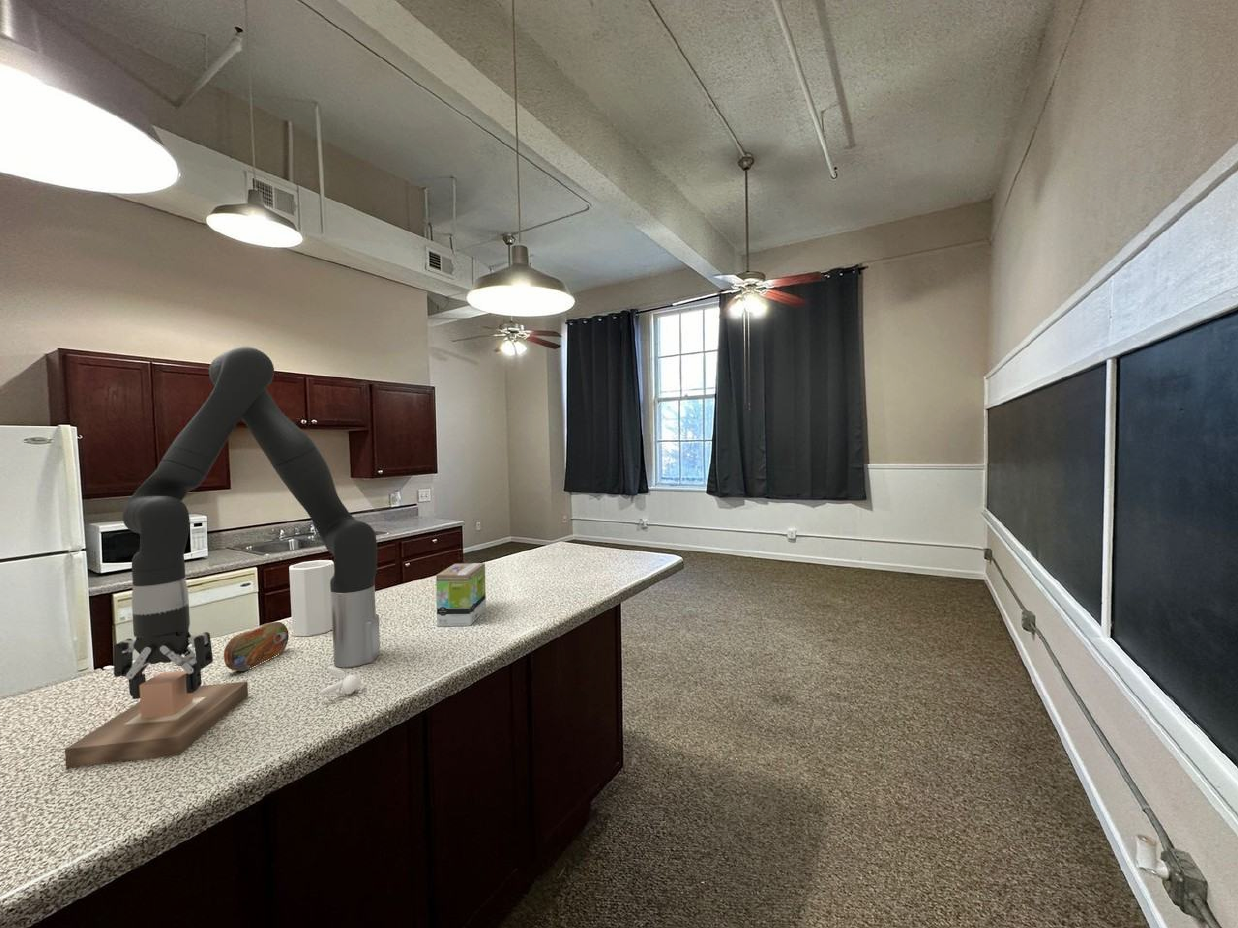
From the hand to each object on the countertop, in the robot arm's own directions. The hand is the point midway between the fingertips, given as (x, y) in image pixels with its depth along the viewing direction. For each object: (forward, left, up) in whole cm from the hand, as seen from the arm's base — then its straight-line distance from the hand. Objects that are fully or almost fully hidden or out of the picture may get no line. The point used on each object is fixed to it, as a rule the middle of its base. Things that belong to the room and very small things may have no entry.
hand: (166, 694), depth 91 cm
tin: (-1, -28, -6) cm, 29 cm away
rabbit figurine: (-27, -6, -6) cm, 28 cm away
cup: (-5, -49, -6) cm, 50 cm away
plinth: (0, 0, -6) cm, 6 cm away
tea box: (-45, -49, -6) cm, 67 cm away
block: (0, 0, -3) cm, 3 cm away
